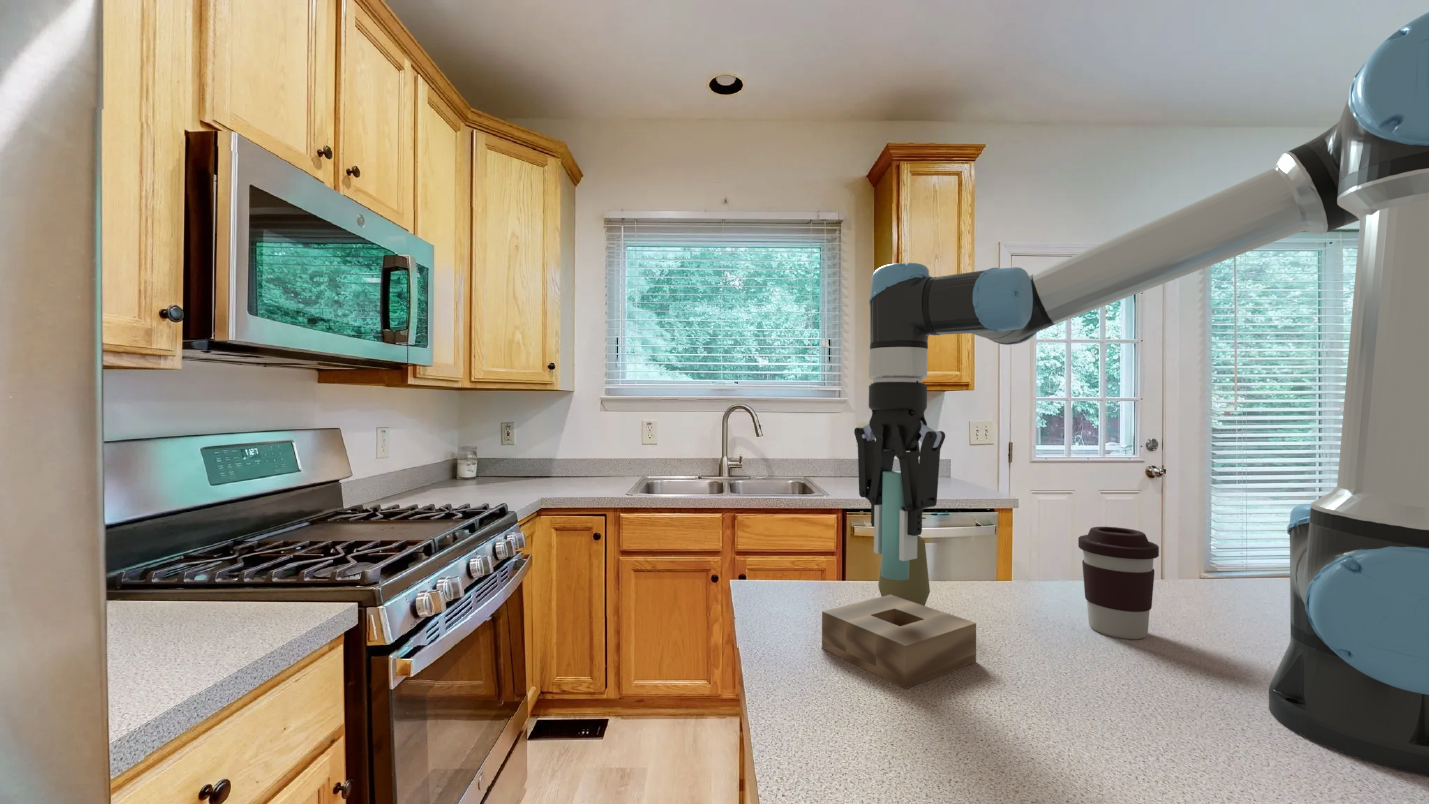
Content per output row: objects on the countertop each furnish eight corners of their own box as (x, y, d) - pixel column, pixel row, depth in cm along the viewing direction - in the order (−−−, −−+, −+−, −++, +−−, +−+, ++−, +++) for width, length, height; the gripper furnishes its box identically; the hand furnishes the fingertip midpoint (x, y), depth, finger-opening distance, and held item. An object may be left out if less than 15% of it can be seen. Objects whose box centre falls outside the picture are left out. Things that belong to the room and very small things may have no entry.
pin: (914, 577, 78) (916, 473, 78) (896, 581, 76) (898, 474, 76) (893, 571, 81) (894, 470, 81) (875, 575, 79) (877, 471, 80)
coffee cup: (1132, 620, 92) (1132, 525, 92) (1175, 645, 82) (1175, 538, 82) (1066, 618, 93) (1065, 523, 93) (1100, 642, 83) (1100, 536, 83)
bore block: (976, 661, 76) (976, 623, 76) (905, 688, 69) (905, 645, 69) (890, 628, 88) (890, 594, 88) (821, 648, 80) (822, 611, 81)
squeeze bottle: (937, 620, 92) (937, 504, 92) (885, 619, 92) (885, 504, 92) (920, 603, 100) (920, 497, 100) (872, 602, 100) (873, 496, 100)
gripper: (970, 380, 74) (968, 566, 74) (869, 383, 88) (867, 540, 88) (933, 378, 70) (930, 575, 70) (833, 382, 84) (830, 545, 84)
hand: (895, 555), depth 79 cm, fingers closed on pin, 3 cm apart
